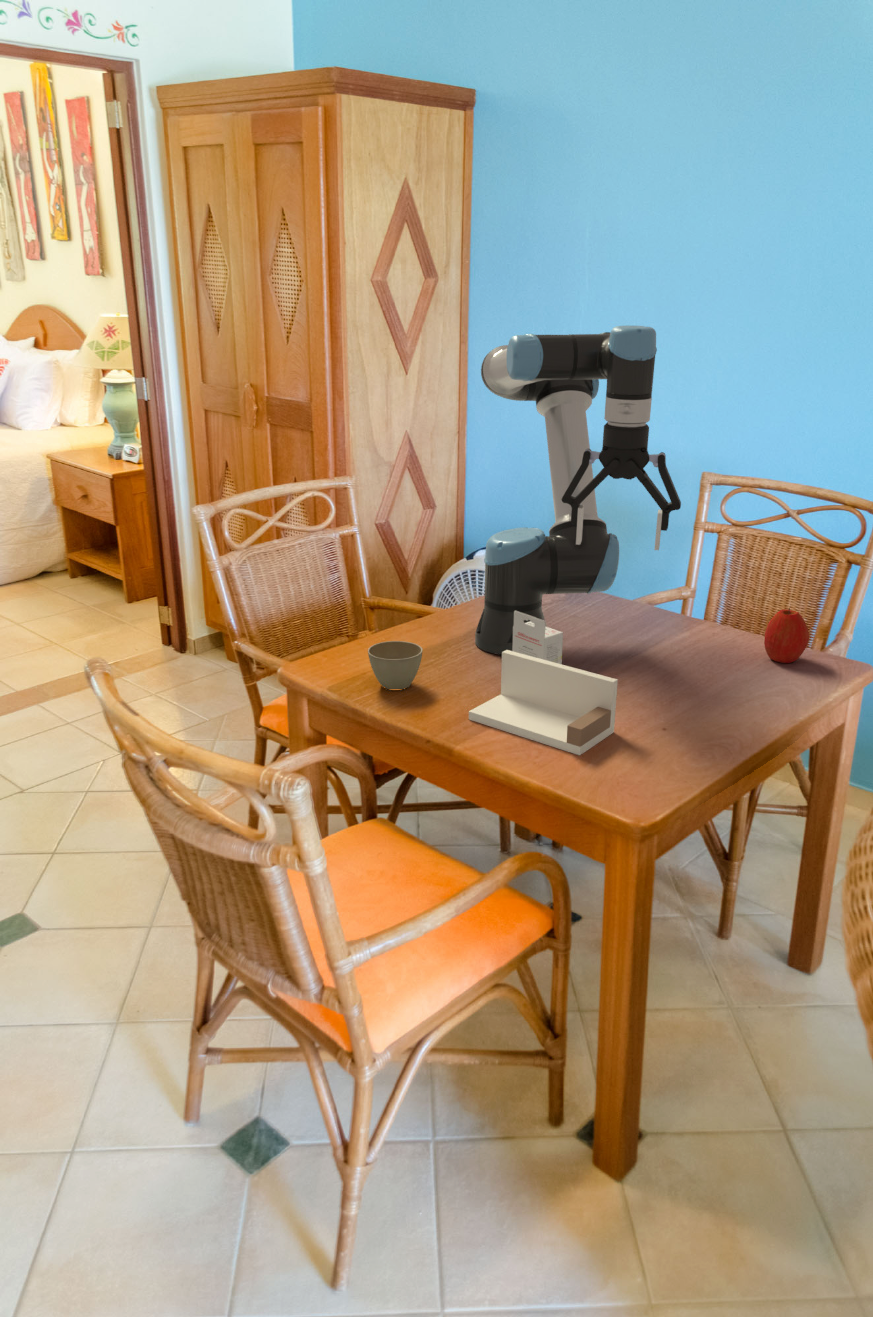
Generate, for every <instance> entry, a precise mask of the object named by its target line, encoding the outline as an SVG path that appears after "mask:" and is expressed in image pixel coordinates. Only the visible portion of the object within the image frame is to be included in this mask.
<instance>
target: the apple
mask: <svg viewBox="0 0 873 1317" xmlns="http://www.w3.org/2000/svg"><path fill="white" fill-rule="evenodd" d="M790 608H791V607H789V608H788V609H786V608H785V609H780V610H779V611H777V612H776V613H775V614H774V615H773V617H772V618H771V619H770V620H769V622H768V623H767V625H766V626H767V627H766V629H765V632H764V640H763V644H764V649H765V652H766V655H767V656H768V657H769V659H770V660H772V661H774V662H777V663H782V664H791V663H792V662H795V661H797V660H798V659H799V658H800V657H801V656H802V655H803V653H804V651H805V650H806V649H807V646H808V643H809V641H810V633H809V632H810V631H809V627H808V626H807V623H806V621H805V619H804V617H803V616H802V614H800V613H799V611H796V610H792V609H790Z"/></svg>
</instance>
